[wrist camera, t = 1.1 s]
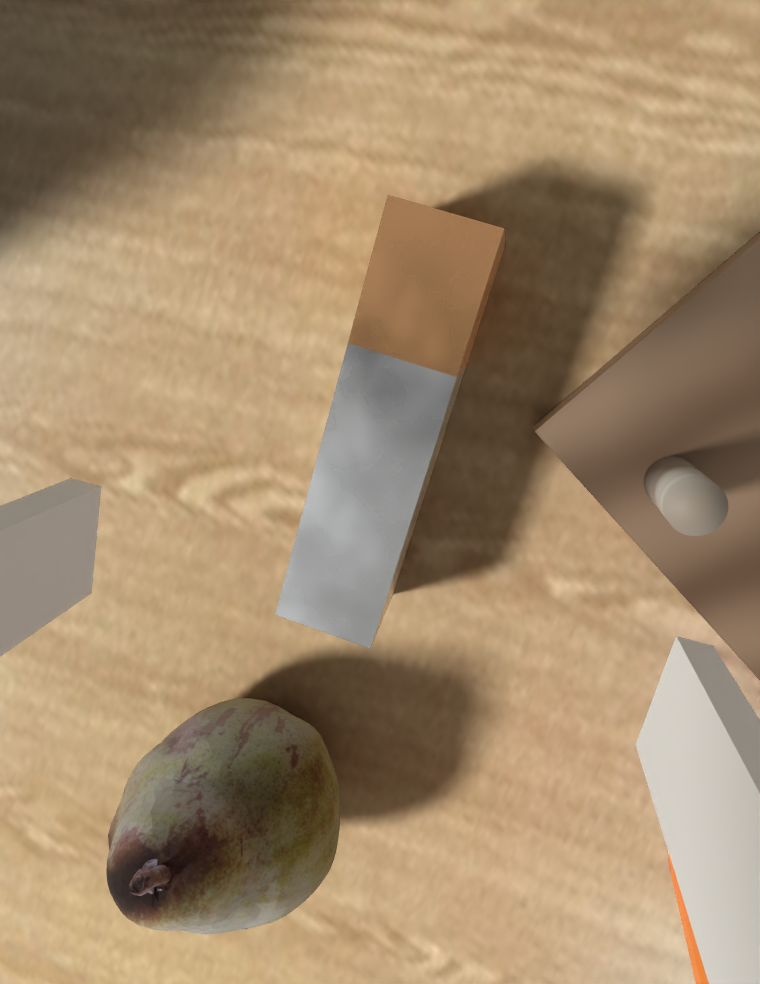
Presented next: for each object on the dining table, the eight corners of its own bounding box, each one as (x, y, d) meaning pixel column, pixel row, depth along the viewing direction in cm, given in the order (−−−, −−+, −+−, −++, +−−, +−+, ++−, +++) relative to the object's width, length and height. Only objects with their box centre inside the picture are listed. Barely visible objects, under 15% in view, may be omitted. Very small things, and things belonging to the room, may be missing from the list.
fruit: (305, 638, 34) (199, 806, 22) (398, 794, 35) (344, 1029, 23) (145, 713, 36) (-22, 895, 25) (237, 854, 38) (117, 1090, 26)
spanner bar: (392, 594, 32) (370, 648, 27) (313, 566, 32) (275, 614, 27) (505, 245, 28) (504, 228, 22) (410, 217, 28) (387, 194, 23)
